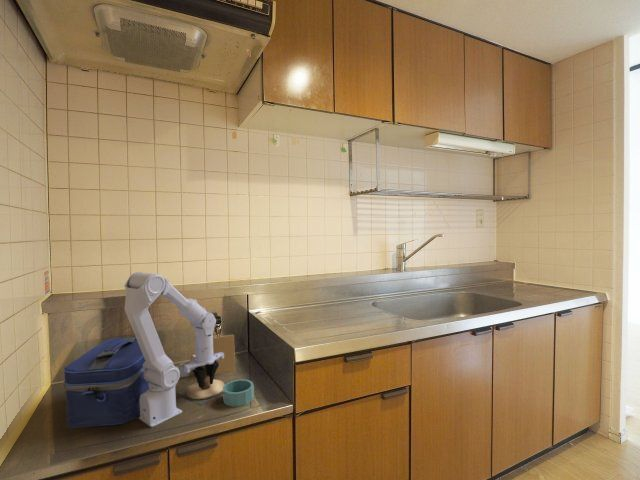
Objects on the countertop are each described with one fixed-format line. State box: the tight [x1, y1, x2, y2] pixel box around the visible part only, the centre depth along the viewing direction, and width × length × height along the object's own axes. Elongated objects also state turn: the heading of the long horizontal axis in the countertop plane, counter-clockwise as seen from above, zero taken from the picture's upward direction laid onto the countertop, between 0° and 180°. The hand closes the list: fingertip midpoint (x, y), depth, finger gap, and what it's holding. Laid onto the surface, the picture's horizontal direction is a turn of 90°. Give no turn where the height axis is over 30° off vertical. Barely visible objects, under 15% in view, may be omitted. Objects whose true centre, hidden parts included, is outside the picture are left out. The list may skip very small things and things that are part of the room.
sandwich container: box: [213, 334, 236, 376], centre depth 137 cm, size 9×15×15 cm, turn 25°
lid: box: [186, 373, 226, 399], centre depth 116 cm, size 12×12×5 cm
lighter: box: [176, 353, 196, 379], centre depth 129 cm, size 7×2×8 cm, turn 114°
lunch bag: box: [63, 337, 149, 429], centre depth 109 cm, size 31×21×20 cm
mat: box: [178, 388, 223, 406], centre depth 116 cm, size 13×13×1 cm
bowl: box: [222, 378, 255, 407], centre depth 111 cm, size 10×10×4 cm
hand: (205, 385), depth 116 cm, fingers closed on lid, 3 cm apart
